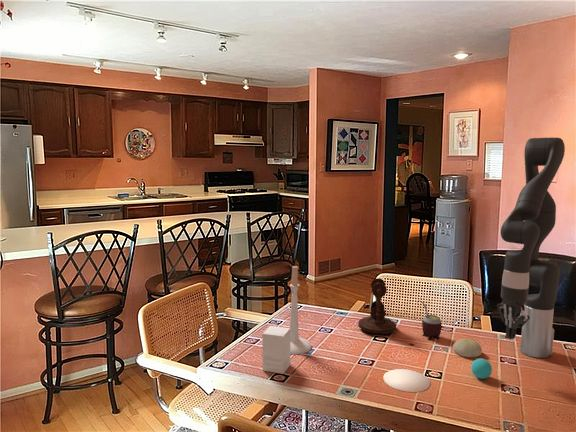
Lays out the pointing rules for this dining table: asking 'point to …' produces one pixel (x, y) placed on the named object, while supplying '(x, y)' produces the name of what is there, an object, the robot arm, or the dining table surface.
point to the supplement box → (276, 349)
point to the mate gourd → (431, 325)
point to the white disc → (406, 380)
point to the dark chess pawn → (377, 312)
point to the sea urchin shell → (467, 348)
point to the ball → (481, 368)
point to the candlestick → (296, 320)
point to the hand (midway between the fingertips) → (510, 337)
